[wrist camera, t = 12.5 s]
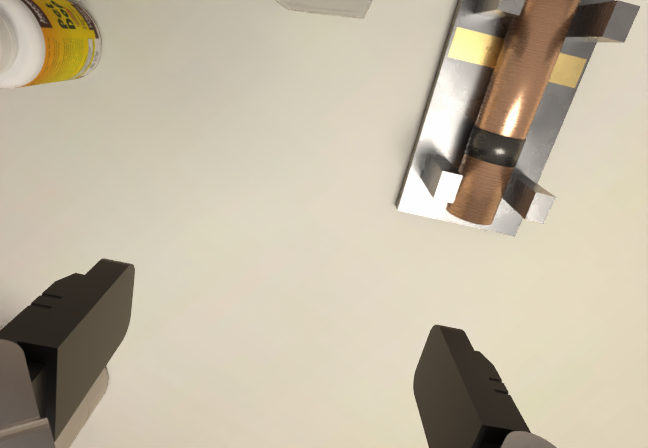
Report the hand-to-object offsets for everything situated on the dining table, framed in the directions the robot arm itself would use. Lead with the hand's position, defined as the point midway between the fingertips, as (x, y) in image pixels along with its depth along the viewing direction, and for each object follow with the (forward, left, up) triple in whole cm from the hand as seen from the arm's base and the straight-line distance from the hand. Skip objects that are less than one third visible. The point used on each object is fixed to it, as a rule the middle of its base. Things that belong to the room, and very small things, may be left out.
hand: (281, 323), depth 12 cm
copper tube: (+6, -13, -24) cm, 28 cm away
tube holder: (+6, -13, -26) cm, 29 cm away
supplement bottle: (+3, +19, -26) cm, 32 cm away
